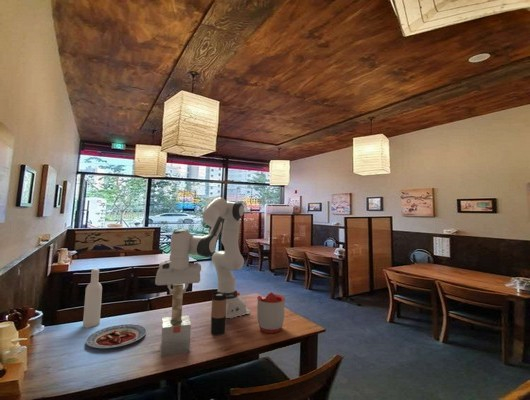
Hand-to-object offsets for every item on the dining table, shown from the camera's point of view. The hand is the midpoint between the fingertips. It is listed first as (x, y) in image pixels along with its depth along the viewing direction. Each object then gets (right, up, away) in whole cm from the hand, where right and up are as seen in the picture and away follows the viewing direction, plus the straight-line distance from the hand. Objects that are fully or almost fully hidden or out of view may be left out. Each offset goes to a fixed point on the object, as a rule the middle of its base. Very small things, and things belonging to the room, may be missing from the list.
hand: (177, 293), depth 122 cm
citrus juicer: (+44, -28, +22) cm, 56 cm away
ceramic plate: (-31, -25, +5) cm, 40 cm away
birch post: (0, -16, -1) cm, 16 cm away
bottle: (-55, -25, +21) cm, 64 cm away
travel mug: (+16, -27, +15) cm, 35 cm away
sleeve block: (-1, -25, -2) cm, 25 cm away
